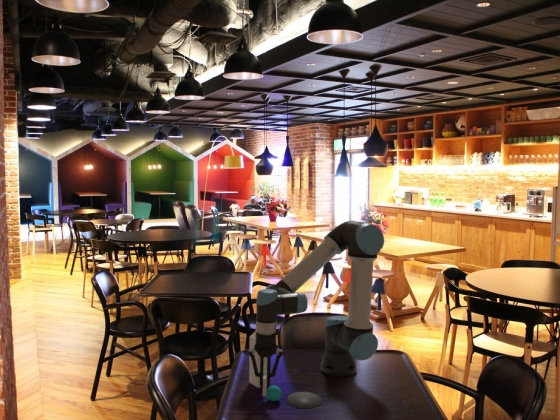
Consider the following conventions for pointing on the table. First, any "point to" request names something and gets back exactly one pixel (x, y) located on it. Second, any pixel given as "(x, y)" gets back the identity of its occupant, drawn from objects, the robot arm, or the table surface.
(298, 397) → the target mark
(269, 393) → the ball
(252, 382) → the milk
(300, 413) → the table surface
